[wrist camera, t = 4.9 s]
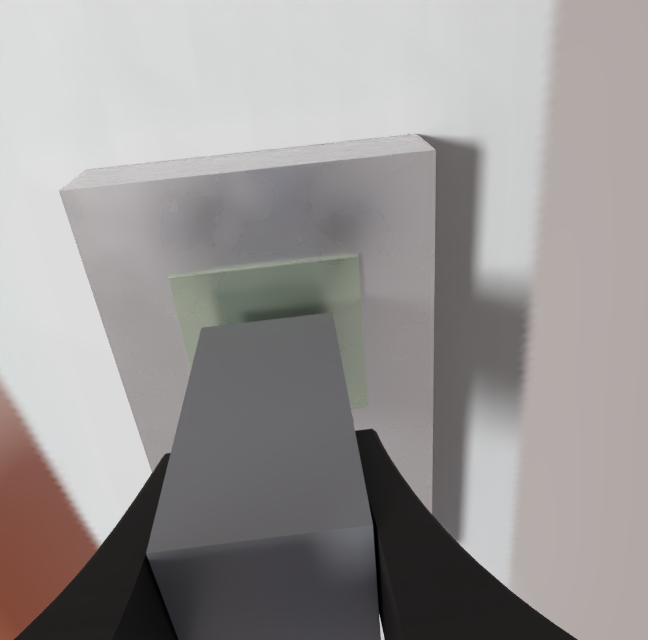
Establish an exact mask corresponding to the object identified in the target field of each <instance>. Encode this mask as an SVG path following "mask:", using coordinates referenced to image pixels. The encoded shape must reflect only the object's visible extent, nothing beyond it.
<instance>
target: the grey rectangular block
mask: <svg viewBox="0 0 648 640" xmlns="http://www.w3.org/2000/svg"><path fill="white" fill-rule="evenodd" d="M146 555H147V557H148V560H149V563H150V565H151V568H152V571H153V573H154V576H155V579H156V581H157V584H158V586H159V589H160V592H161V594H162V597H163V600H164V602H165V605H166V608H167V610H168V613H169V616H170V618H171V621H172V624H173V626H174V629H175V632H176V634H177V637H178V640H381V637H380V622H379V607H378V592H377V577H376V563H375V548H374V533H373V522H372V517H371V512H370V507H369V502H368V496H367V491H366V486H365V481H364V475H363V470H362V465H361V460H360V454H359V449H358V444H357V439H356V433H355V428H354V423H353V418H352V412H351V407H350V402H349V397H348V391H347V386H346V381H345V376H344V370H343V365H342V360H341V355H340V349H339V344H338V339H337V334H336V328H335V323H334V318H333V313H323V314H315V315H306V316H298V317H289V318H280V319H272V320H263V321H254V322H246V323H237V324H228V325H220V326H211V327H203V328H201V331H200V335H199V340H198V344H197V348H196V352H195V356H194V360H193V364H192V368H191V372H190V376H189V380H188V384H187V388H186V393H185V397H184V401H183V405H182V409H181V413H180V417H179V421H178V425H177V429H176V433H175V437H174V441H173V446H172V450H171V454H170V458H169V462H168V466H167V470H166V474H165V478H164V482H163V486H162V490H161V494H160V499H159V503H158V507H157V511H156V515H155V519H154V523H153V527H152V531H151V535H150V539H149V543H148V547H147V552H146Z"/></svg>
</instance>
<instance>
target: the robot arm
mask: <svg viewBox="0 0 648 640" xmlns="http://www.w3.org/2000/svg"><path fill="white" fill-rule="evenodd" d="M355 433H356V439H357V444H358V449H359V454H360V460H361V465H362V470H363V475H364V481H365V486H366V491H367V496H368V502H369V507H370V512H371V517H372V522H373V533H374V548H375V563H376V577H377V592H378V607H379V614H380V618H381V623H382V628H383V633H384V638H385V640H577V639H576V638H574V637H573V636H571V635H570V634H568V633H567V632H566V631H564V630H563V629H561V628H560V627H558V626H557V625H555V624H554V623H552V622H551V621H550V620H548V619H547V618H545V617H544V616H543V615H541V614H540V613H539V612H537V611H536V610H534V609H533V608H532V607H531V606H529V605H528V604H527V603H525V602H524V601H523V600H522V599H520V598H519V597H518V596H516V595H515V594H514V593H513V592H511V591H510V590H509V589H508V588H507V587H506V586H504V585H503V584H502V583H501V582H500V581H499V580H497V579H496V578H495V577H494V576H493V575H492V574H491V573H489V572H488V571H487V570H486V569H485V568H484V567H482V566H481V565H480V564H479V563H478V562H477V561H476V560H475V559H474V558H473V557H472V556H471V555H470V554H469V553H468V552H466V551H465V550H464V549H463V548H462V547H461V546H460V545H459V544H458V543H457V542H456V540H455V539H454V538H453V537H452V536H451V535H450V534H449V533H448V532H447V531H446V530H445V529H444V528H443V527H442V526H441V524H440V523H439V522H438V521H437V520H436V519H435V518H434V516H433V515H432V514H431V513H430V512H429V510H428V509H427V508H426V507H425V506H424V504H423V503H422V502H421V501H420V499H419V498H418V497H417V495H416V494H415V493H414V491H413V490H412V489H411V487H410V486H409V485H408V483H407V482H406V480H405V479H404V478H403V476H402V475H401V473H400V472H399V470H398V469H397V467H396V466H395V464H394V463H393V461H392V460H391V458H390V456H389V455H388V453H387V451H386V450H385V448H384V446H383V444H382V442H381V440H380V438H379V436H378V434H377V432H376V431H375V430H373V429H364V430H356V431H355ZM170 454H171V453H166V454H165V455H164V456H163V457H162V458H161V460H160V462H159V463H158V465H157V466H156V468H155V469H154V471H153V472H152V474H151V476H150V477H149V479H148V480H147V482H146V483H145V485H144V486H143V488H142V489H141V491H140V492H139V494H138V495H137V497H136V498H135V500H134V501H133V503H132V504H131V506H130V507H129V508H128V510H127V511H126V513H125V514H124V515H123V517H122V518H121V520H120V521H119V523H118V524H117V525H116V527H115V528H114V529H113V531H112V532H111V533H110V535H109V536H108V537H107V538H106V540H105V541H104V542H103V544H102V545H101V546H100V547H99V549H98V550H97V551H96V553H95V554H94V555H93V556H92V558H91V559H90V560H89V561H88V563H87V564H86V565H85V566H84V567H83V569H82V570H81V571H80V572H79V573H78V574H77V576H76V577H75V578H74V579H73V580H72V581H71V583H69V585H68V586H67V587H66V588H65V589H64V590H63V592H61V593H60V594H59V596H58V597H57V598H56V599H55V600H54V601H53V602H52V603H51V604H50V605H49V606H48V607H47V608H46V609H45V610H44V611H43V612H42V613H41V614H40V615H39V616H38V617H37V618H36V619H35V620H34V621H33V622H32V623H31V624H30V625H29V626H28V627H27V628H26V629H25V630H24V631H23V632H22V633H21V634H20V635H18V636H17V637H16V638H15V639H14V640H178V637H177V634H176V632H175V629H174V626H173V624H172V621H171V618H170V616H169V613H168V610H167V608H166V605H165V602H164V600H163V597H162V594H161V592H160V589H159V586H158V584H157V581H156V579H155V576H154V573H153V571H152V568H151V565H150V563H149V560H148V557H147V555H146V552H147V547H148V543H149V539H150V535H151V531H152V527H153V523H154V519H155V515H156V511H157V507H158V503H159V499H160V494H161V490H162V486H163V482H164V478H165V474H166V470H167V466H168V462H169V458H170Z"/></svg>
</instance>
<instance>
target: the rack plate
mask: <svg viewBox="0 0 648 640" xmlns="http://www.w3.org/2000/svg"><path fill="white" fill-rule="evenodd" d="M59 192H60V195H61V198H62V201H63V204H64V208H65V211H66V214H67V217H68V220H69V223H70V226H71V229H72V232H73V235H74V238H75V241H76V244H77V247H78V250H79V253H80V256H81V259H82V262H83V265H84V268H85V271H86V274H87V277H88V280H89V283H90V286H91V289H92V292H93V295H94V298H95V301H96V304H97V307H98V310H99V313H100V316H101V319H102V322H103V325H104V328H105V331H106V334H107V337H108V340H109V343H110V346H111V349H112V352H113V355H114V358H115V361H116V364H117V367H118V370H119V374H120V377H121V380H122V383H123V386H124V389H125V392H126V395H127V398H128V401H129V404H130V407H131V410H132V413H133V416H134V419H135V422H136V425H137V428H138V431H139V434H140V437H141V440H142V443H143V446H144V449H145V452H146V455H147V458H148V461H149V464H150V467H151V470H152V472H153V471H154V469H155V468H156V466H157V465H158V463H159V462H160V460H161V458H162V457H163V456H164V455H165V454H166V453H171V450H172V446H173V441H174V437H175V433H176V429H177V425H178V421H179V417H180V413H181V409H182V405H183V401H184V397H185V393H186V388H187V384H188V380H189V376H190V372H191V368H192V364H193V360H194V356H195V352H196V348H197V344H198V340H199V335H200V331H201V328H203V327H211V326H220V325H228V324H237V323H246V322H254V321H263V320H272V319H280V318H289V317H298V316H306V315H315V314H323V313H333V318H334V323H335V328H336V334H337V339H338V344H339V349H340V355H341V360H342V365H343V370H344V376H345V381H346V386H347V391H348V397H349V402H350V407H351V412H352V418H353V423H354V428H355V431H356V430H364V429H373V430H375V431H376V432H377V434H378V436H379V438H380V440H381V442H382V444H383V446H384V448H385V450H386V451H387V453H388V455H389V456H390V458H391V460H392V461H393V463H394V464H395V466H396V467H397V469H398V470H399V472H400V473H401V475H402V476H403V478H404V479H405V480H406V482H407V483H408V485H409V486H410V487H411V489H412V490H413V491H414V493H415V494H416V495H417V497H418V498H419V499H420V501H421V502H422V503H423V504H424V506H425V507H426V508H427V509H428V510H429V512H430V513H431V514H432V484H433V389H434V294H435V199H436V149H434V148H433V147H432V146H431V145H430V144H428V143H427V142H426V141H425V140H423V139H422V138H421V137H420V136H418V135H417V134H414V135H404V136H395V137H386V138H377V139H367V140H358V141H349V142H340V143H331V144H321V145H312V146H303V147H294V148H284V149H275V150H266V151H257V152H247V153H238V154H229V155H220V156H210V157H201V158H192V159H183V160H174V161H164V162H155V163H146V164H137V165H127V166H118V167H109V168H100V169H90V170H85V171H84V172H82V173H81V174H80V175H79V176H77V177H76V178H75V179H73V180H72V181H71V182H70V183H68V184H67V185H66V186H65V187H63V188H62V189H61V190H59Z"/></svg>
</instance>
